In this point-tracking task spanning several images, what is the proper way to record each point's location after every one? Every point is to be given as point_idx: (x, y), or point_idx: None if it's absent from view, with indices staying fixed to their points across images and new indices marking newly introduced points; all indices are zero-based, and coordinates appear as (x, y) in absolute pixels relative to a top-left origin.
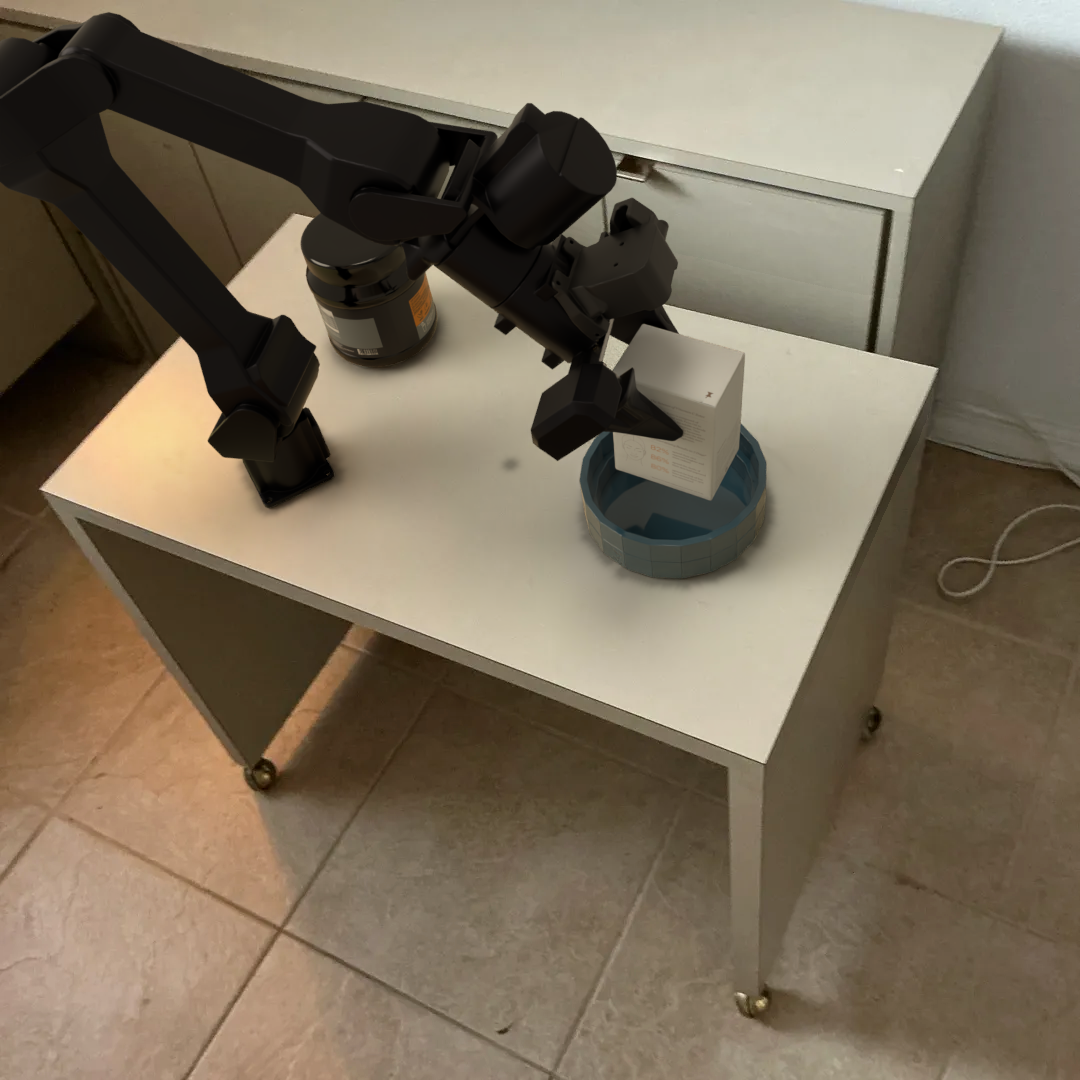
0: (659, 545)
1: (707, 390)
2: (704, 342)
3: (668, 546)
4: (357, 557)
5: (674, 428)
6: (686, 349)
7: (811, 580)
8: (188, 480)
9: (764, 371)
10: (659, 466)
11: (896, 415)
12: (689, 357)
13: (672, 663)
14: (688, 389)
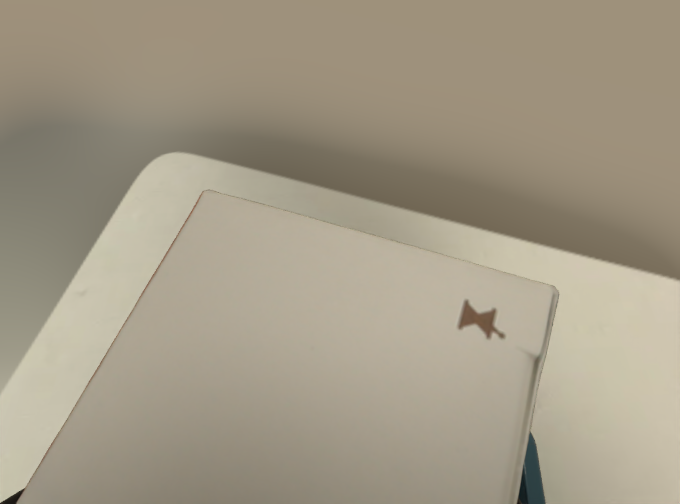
0: (542, 491)
1: (448, 330)
2: (110, 362)
3: (539, 470)
4: None
5: (517, 500)
6: (140, 468)
7: (468, 253)
8: None
9: (106, 324)
10: None
11: (210, 171)
12: (208, 446)
13: (672, 447)
14: (457, 442)
